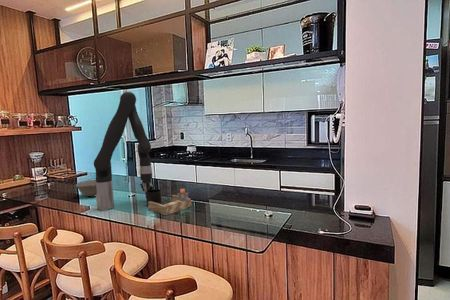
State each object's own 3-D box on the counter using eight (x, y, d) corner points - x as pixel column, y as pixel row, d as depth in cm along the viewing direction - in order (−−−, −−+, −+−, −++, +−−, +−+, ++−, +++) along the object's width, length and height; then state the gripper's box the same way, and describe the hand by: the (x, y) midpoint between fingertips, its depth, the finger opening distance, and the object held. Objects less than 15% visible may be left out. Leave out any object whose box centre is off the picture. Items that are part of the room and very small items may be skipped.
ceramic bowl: (69, 199, 208) (68, 185, 207) (91, 191, 230) (90, 179, 229) (96, 200, 202) (95, 186, 201) (116, 191, 225) (115, 179, 224)
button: (182, 196, 172) (182, 190, 171) (179, 196, 173) (179, 189, 173) (186, 195, 174) (185, 189, 173) (183, 194, 176) (182, 188, 175)
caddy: (165, 215, 162) (164, 199, 161) (148, 209, 174) (147, 195, 173) (191, 206, 176) (190, 192, 175) (174, 202, 188) (173, 188, 187)
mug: (167, 202, 189) (166, 188, 188) (156, 207, 178) (155, 193, 177) (155, 201, 192) (154, 187, 191) (143, 206, 181) (142, 192, 180)
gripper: (135, 172, 190) (137, 198, 192) (146, 174, 182) (148, 201, 184) (145, 170, 196) (147, 195, 198) (156, 172, 187) (158, 198, 189)
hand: (147, 198), depth 191 cm, fingers closed
